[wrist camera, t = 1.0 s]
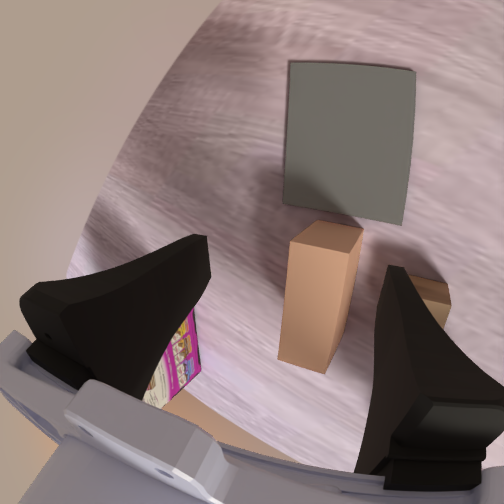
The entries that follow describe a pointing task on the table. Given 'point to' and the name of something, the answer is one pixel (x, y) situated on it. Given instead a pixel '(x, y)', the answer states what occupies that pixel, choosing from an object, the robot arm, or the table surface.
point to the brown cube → (434, 297)
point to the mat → (350, 139)
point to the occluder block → (318, 293)
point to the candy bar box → (175, 365)
